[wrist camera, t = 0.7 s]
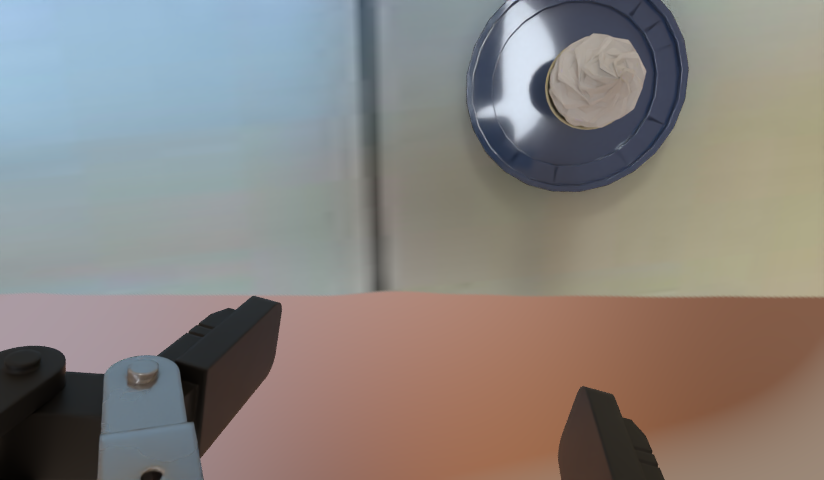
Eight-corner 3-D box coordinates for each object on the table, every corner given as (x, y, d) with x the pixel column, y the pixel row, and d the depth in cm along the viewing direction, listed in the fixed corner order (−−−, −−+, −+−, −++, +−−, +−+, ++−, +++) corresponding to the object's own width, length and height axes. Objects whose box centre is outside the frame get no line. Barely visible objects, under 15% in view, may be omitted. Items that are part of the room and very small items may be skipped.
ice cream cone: (619, 62, 36) (701, 39, 21) (590, 132, 37) (648, 154, 23) (551, 40, 36) (586, 3, 22) (524, 110, 38) (541, 118, 23)
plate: (469, -19, 37) (467, -25, 35) (691, -31, 34) (702, -38, 32) (466, 186, 41) (465, 190, 39) (665, 188, 38) (673, 192, 36)
